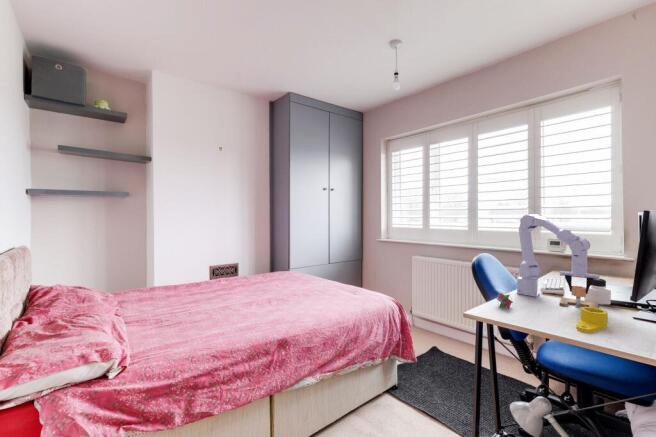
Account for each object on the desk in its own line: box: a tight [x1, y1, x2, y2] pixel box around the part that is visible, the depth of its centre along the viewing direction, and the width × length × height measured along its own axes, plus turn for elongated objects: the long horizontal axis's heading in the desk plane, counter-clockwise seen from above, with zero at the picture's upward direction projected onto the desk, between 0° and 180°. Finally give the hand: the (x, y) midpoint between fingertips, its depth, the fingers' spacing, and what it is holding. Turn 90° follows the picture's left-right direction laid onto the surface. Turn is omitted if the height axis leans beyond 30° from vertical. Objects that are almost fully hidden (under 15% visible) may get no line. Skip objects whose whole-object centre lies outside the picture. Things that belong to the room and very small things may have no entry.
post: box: [573, 296, 582, 309], centre depth 145 cm, size 3×3×6 cm
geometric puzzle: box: [496, 292, 514, 309], centre depth 146 cm, size 7×7×8 cm
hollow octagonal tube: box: [570, 285, 586, 298], centre depth 145 cm, size 5×5×4 cm
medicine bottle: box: [584, 277, 612, 305], centre depth 152 cm, size 7×7×12 cm
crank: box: [575, 306, 609, 334], centre depth 122 cm, size 18×8×6 cm, turn 124°
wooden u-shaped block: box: [559, 296, 599, 308], centre depth 148 cm, size 14×12×1 cm
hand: (578, 292), depth 145 cm, fingers closed on hollow octagonal tube, 5 cm apart
